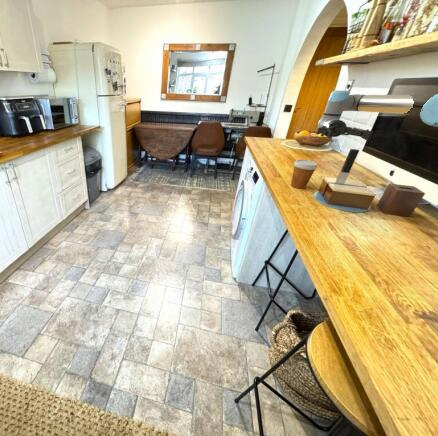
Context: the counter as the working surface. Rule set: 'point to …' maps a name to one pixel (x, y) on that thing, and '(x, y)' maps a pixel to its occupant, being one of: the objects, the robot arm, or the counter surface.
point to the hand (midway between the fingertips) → (350, 136)
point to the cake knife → (347, 167)
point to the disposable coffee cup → (302, 173)
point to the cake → (345, 195)
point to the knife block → (400, 200)
